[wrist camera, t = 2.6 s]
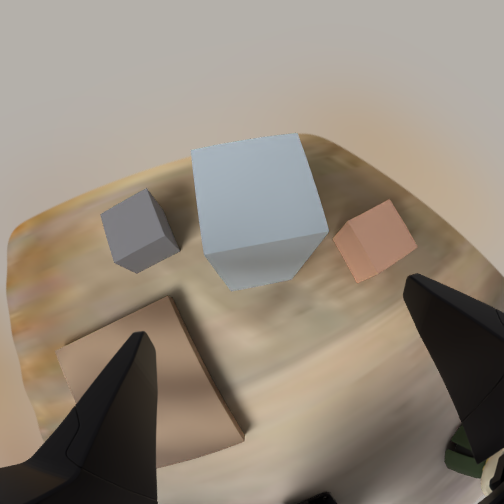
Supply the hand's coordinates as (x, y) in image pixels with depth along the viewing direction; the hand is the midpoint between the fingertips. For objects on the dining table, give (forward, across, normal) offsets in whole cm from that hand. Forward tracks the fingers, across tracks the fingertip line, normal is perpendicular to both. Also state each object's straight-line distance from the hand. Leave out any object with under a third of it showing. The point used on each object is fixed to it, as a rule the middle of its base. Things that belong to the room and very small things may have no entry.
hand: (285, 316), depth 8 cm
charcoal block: (+14, +8, +3) cm, 16 cm away
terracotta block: (+11, -9, +6) cm, 15 cm away
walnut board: (+5, +11, +11) cm, 16 cm away
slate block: (+12, 0, +5) cm, 13 cm away
